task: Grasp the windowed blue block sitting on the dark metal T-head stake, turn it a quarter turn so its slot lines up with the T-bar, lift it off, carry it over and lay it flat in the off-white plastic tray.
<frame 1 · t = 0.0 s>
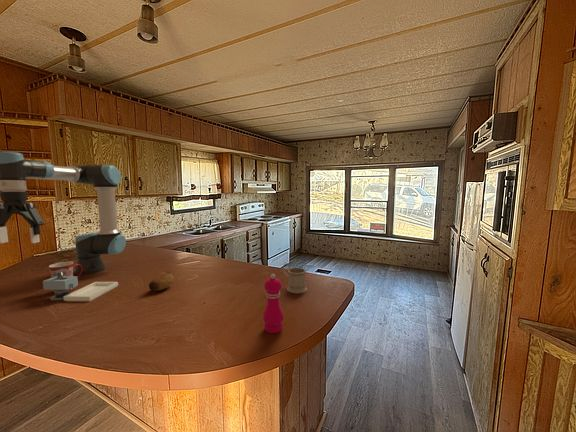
hand: (19, 242, 103), 28 cm above the counter, fingers open, 13 cm apart
windowed blue block: (61, 286, 115), point 5 cm above the counter, touching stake
potato: (162, 289, 125), on the counter
pepper mill: (273, 329, 89), on the counter
mug: (68, 289, 125), on the counter
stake: (62, 297, 116), on the counter
mug 2: (293, 288, 125), on the counter
tray: (93, 293, 120), on the counter
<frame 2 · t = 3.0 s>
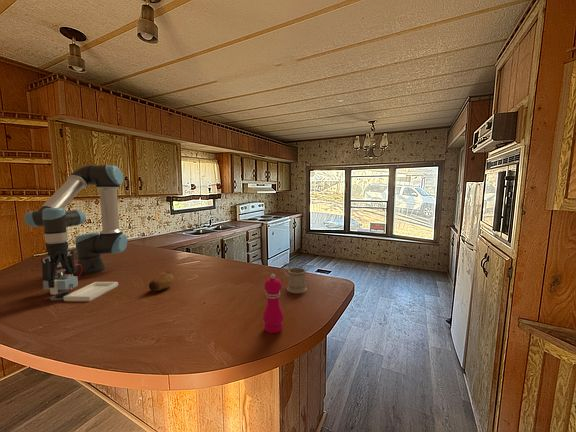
hand: (61, 290, 115), 3 cm above the counter, fingers closed on windowed blue block, 6 cm apart
windowed blue block: (61, 286, 115), point 5 cm above the counter, touching gripper, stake
everything else where it was.
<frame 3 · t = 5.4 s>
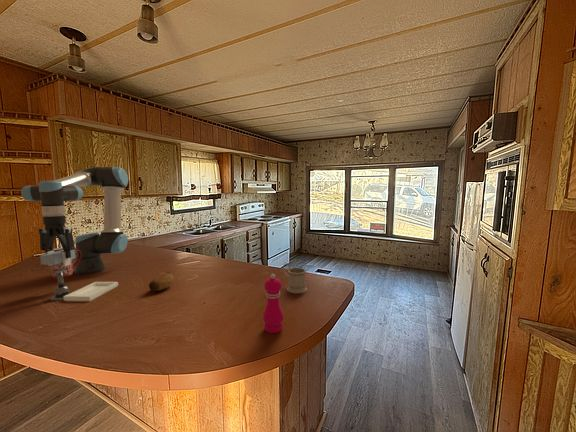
hand: (59, 265, 114), 15 cm above the counter, fingers closed on windowed blue block, 6 cm apart
windowed blue block: (59, 261, 114), point 17 cm above the counter, touching gripper, mug
mug: (67, 275, 124), point 8 cm above the counter, touching windowed blue block
everything else where it was.
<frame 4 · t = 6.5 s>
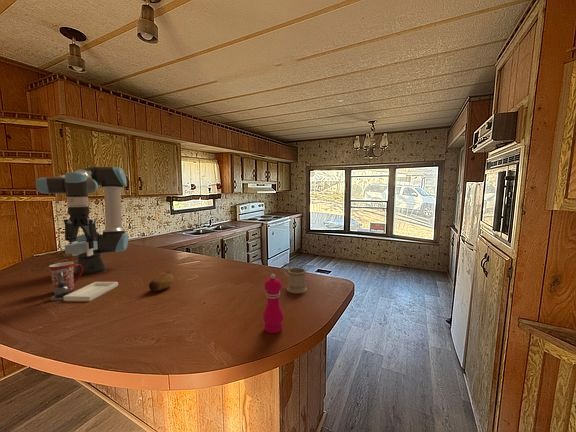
hand: (82, 255, 117), 19 cm above the counter, fingers closed on windowed blue block, 6 cm apart
windowed blue block: (82, 251, 116), point 21 cm above the counter, touching gripper
mug: (68, 290, 124), on the counter
everything else where it was.
when the fingers open (2 cm above the counter, at t = 9.6 s): windowed blue block drops 4 cm, resting on tray.
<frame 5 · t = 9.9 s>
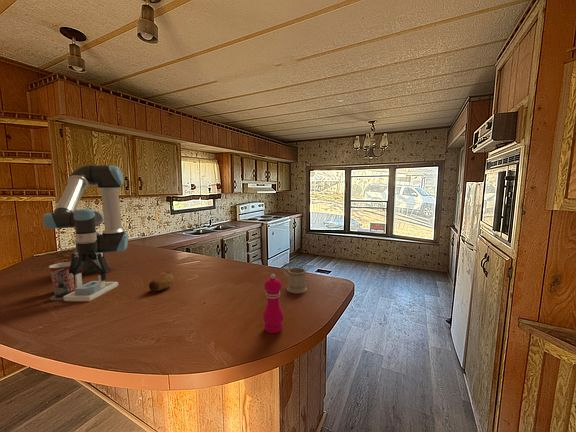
hand: (90, 287, 119), 3 cm above the counter, fingers open, 10 cm apart
windowed blue block: (90, 292, 119), point 1 cm above the counter, touching tray
everything else where it was.
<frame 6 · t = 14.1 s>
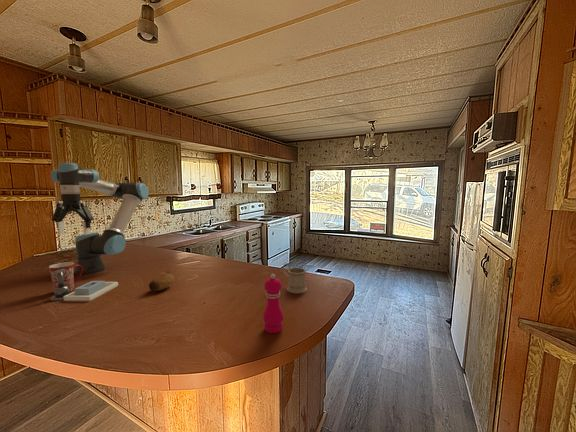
hand: (74, 234, 130), 27 cm above the counter, fingers open, 13 cm apart
nothing on the counter moved.
at the end: windowed blue block inside the target area on the tray (1.0 cm from its centre), point 0.6 cm above the tray's base; windowed blue block tilted 0°; the gripper is holding nothing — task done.
